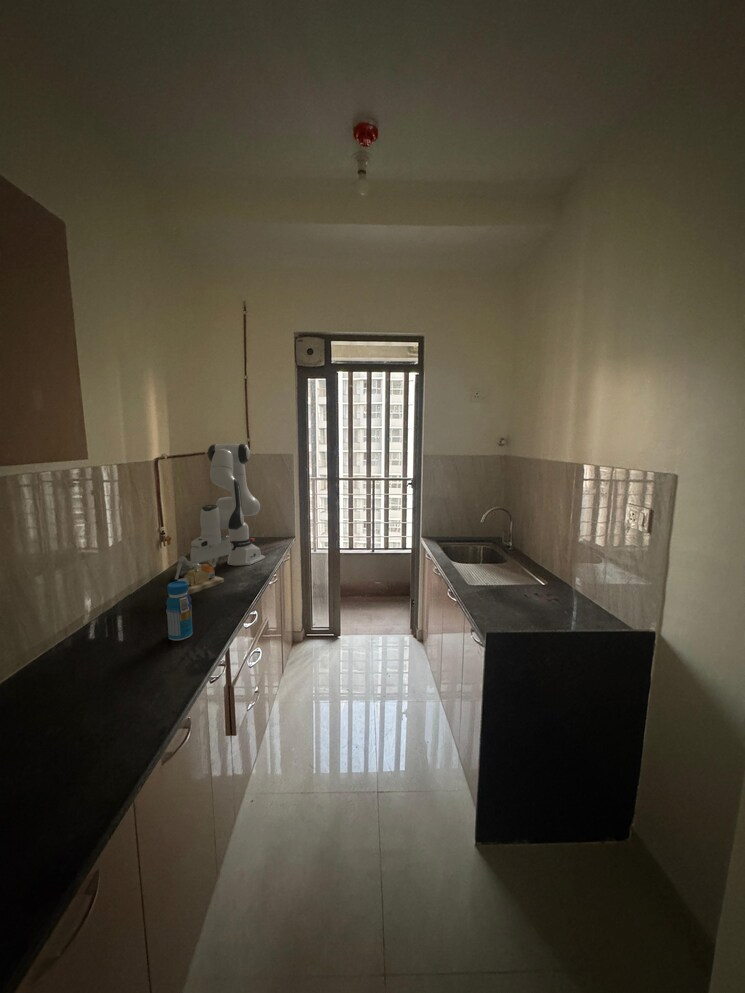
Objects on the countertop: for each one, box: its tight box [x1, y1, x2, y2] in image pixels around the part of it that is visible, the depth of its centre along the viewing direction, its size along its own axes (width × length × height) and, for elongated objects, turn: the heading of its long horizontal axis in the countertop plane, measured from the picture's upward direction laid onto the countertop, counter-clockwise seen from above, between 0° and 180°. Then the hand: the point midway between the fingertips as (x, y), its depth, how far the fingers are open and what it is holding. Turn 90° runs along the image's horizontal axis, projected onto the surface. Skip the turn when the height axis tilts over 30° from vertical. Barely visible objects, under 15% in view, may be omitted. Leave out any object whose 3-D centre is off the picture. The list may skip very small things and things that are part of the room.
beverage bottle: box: [165, 581, 194, 642], centre depth 144 cm, size 8×8×20 cm
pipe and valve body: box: [178, 567, 216, 586], centre depth 193 cm, size 18×5×8 cm, turn 149°
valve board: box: [187, 575, 225, 596], centre depth 194 cm, size 22×12×2 cm, turn 149°
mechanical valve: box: [170, 555, 195, 583], centre depth 201 cm, size 10×18×15 cm
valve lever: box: [193, 562, 215, 573], centre depth 189 cm, size 13×3×3 cm, turn 57°
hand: (212, 567), depth 189 cm, fingers closed
